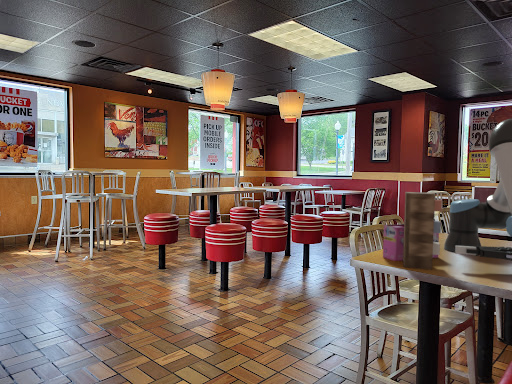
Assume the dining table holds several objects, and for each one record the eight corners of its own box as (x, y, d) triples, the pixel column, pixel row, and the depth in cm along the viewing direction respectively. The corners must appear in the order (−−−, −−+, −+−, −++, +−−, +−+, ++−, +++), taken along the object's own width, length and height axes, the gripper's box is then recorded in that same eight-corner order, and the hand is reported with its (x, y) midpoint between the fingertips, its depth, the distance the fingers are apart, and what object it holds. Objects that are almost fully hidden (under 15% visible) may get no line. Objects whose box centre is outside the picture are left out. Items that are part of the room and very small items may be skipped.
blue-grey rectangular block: (439, 231, 143) (439, 221, 143) (440, 233, 139) (441, 222, 139) (413, 230, 146) (413, 219, 145) (413, 231, 142) (414, 220, 142)
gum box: (426, 253, 166) (427, 222, 166) (441, 257, 159) (442, 225, 158) (382, 257, 158) (383, 224, 157) (395, 261, 150) (396, 227, 150)
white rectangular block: (438, 252, 143) (438, 242, 143) (439, 255, 139) (440, 244, 139) (412, 250, 146) (412, 240, 146) (413, 252, 142) (413, 242, 142)
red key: (440, 210, 142) (440, 199, 142) (441, 211, 139) (441, 200, 138) (414, 209, 145) (414, 198, 145) (414, 210, 142) (415, 199, 141)
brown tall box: (429, 263, 147) (432, 192, 146) (431, 269, 138) (435, 193, 136) (402, 261, 150) (405, 191, 149) (403, 267, 141) (406, 193, 139)
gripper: (538, 270, 125) (457, 263, 133) (525, 262, 137) (452, 256, 146) (539, 247, 125) (458, 242, 133) (526, 241, 137) (453, 236, 145)
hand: (455, 249), depth 139 cm, fingers closed
